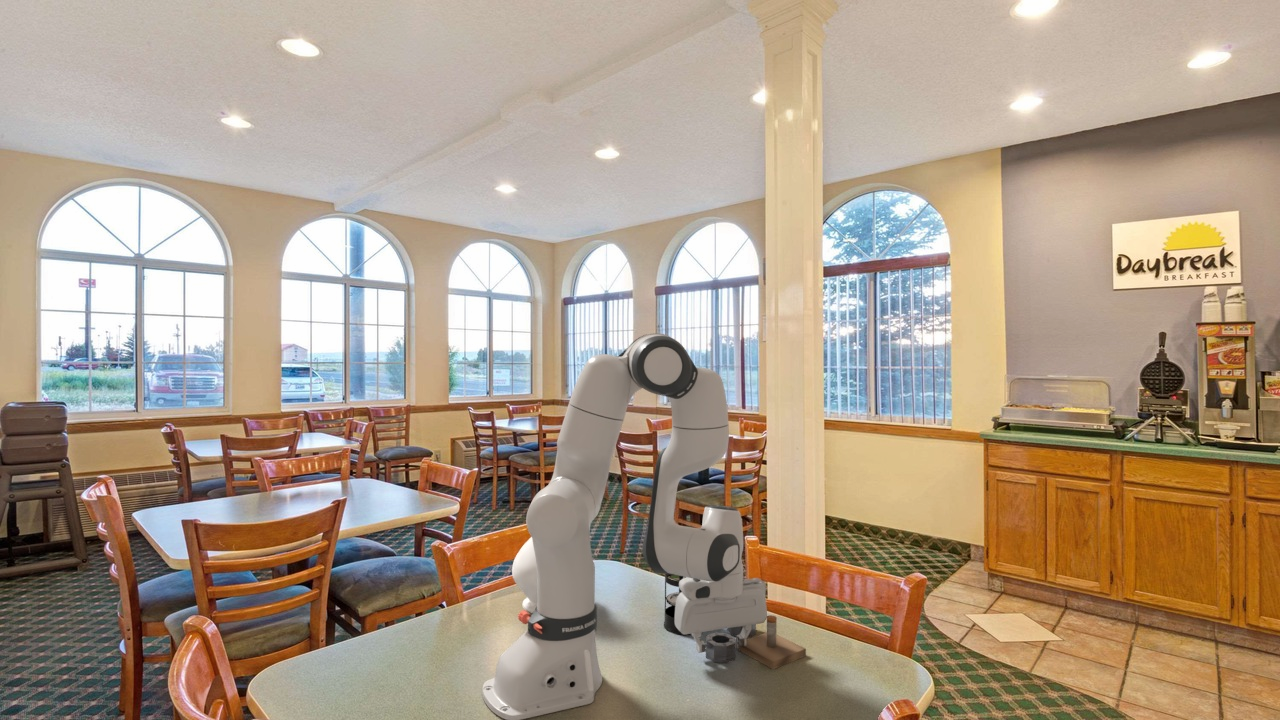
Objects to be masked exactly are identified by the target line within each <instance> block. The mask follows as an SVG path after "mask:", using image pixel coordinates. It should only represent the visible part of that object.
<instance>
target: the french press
mask: <svg viewBox="0 0 1280 720" xmlns="http://www.w3.org/2000/svg"><path fill="white" fill-rule="evenodd" d="M672 576H675V575H674V574H664V621H663V628H664V629H665V630H666V631H668V632H669V633H672V634H675V635H681V636H690V635H691V636H692V634H685V635H684V634H682V633H681V632H680V631H679V630H678V629H677V628H676V626H675V606H676V600H677V597H678V595H679V594H680V593H681V592H682V591H681V590H680V588H679V581H680V580H682V579H683V578H686V577H684V576H679V575H678V580H676V579H672V578H670V577H672ZM667 584H668V585H669V586H673V587H675V588H676V587H678V591H676V592H672V593H670V594H668V595H667ZM667 604H668V605H669V606H668V607H667Z"/></svg>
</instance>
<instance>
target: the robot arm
mask: <svg viewBox="0 0 1280 720" xmlns="http://www.w3.org/2000/svg"><path fill="white" fill-rule="evenodd" d="M642 389H643V390H645V391H647V392H649V393H651V394H654V395H657V396H664V397H667V398H668V401H669V403H670V408H671V435H670V439H669V442H668V444H667V446H666V447H664V448H663V449H661V451H660V452H659V454H658V457H657V460H656V464H655V469H654V474H653V482H652V490H651V499H650V506H649V514H648V515H649V516H648V523H647V527H646V530H645V535H644V538H643V543H642V555H643V559H644V561H645V563H646V564H647V566H648V567H649V569H650V570H651V571H652V572H653V573H655V574H662V575H665V574H674V575H673V576H678V577H679V576H684V577H686V578H683V579H682V580H680V581H679V580H678V581H679V587H678V589H679V588H680V590H681V591H682V592H681V593H680V594H679V595H678V597H677V600H676V606H675V626H676V628H677V629H678V630H679V631H680V632H681V633H682V634H684V635H683V636H686V635H685V634H692V635H691V636H692V638H693V640H694V641H695V649H696V652H697V653H698V654H702V653H706V642H704V641H703V640H701V639H700V638H701V637H702V633H703V632H710V631H718V630H727V628H733V627H740V626H742V627H743V628H742V631H741V633H740V635H737V636H736V639H735V642H736V644H737V646H738V645H739V646H746V644H747V639H748V638H749V637H748V635H749V633H750V631H751V629H752V625H753V624H756V625H759V624H764V623H765V622H766V621H767V616H768V610H767V609H768V608H767V600H766V592H767V591H766V589H767V588H766V583H765V581H764V580H762V579H760V577H753V578H744V566H743V562H742V555H743V552H744V551H743V550H744V531H743V530H744V529H743V520H742V514H741V512H740V510H739V509H737V508H736V507H733V506H728V505H727V506H726V505H718V504H709V505H707V506H704V511H703V514H702V523H701V524H702V525H701V526H700V527H699V528H697V527H692V526H686V525H679V524H678V523H677V522H676V521H675V519H674V517H675V516H674V515H675V510H676V509H675V508H676V502H677V495H678V494H677V493H678V492H677V491H678V485H679V483H680V481H681V480H682V479H683V478H684V477H686V476H689V475H692V474H695V473H698V472H701V471H705V470H706V469H709V468H711V467H713V466H715V465H716V464H717V463H719V462H720V461H721V460H722V459H723V458H724V456H725V455H726V453H727V451H728V447H729V440H730V429H729V427H730V426H729V422H730V421H729V411H728V403H727V396H726V395H727V394H726V390H725V386H724V382H723V378H722V377H721V376H720V374H719V373H718V372H717V371H715V370H713V369H710V368H707V367H700V366H699V367H697V366H696V365H695V363H694V362H693V360H692V358H691V356H690V355H689V353H688V352H687V350H686V349H685V347H684V346H683V345H682V343H680V342H679V341H678V340H676V339H675V338H673V337H671V336H670V335H666V334H664V333H659V332H655V333H647V334H644V335H641V336H640V337H637V338H636V339H635V340H633V341H632V342H631V343H630V345H628V346H627V347H626V348H625V349H624V350H623V351H622V352H621V353H619V355H618V356H617V355H613V354H608V353H607V354H606V353H605V354H604V353H601V354H596V355H593V356H591V357H590V358H589V359H588V360H587V361H586V362H585V364H584V366H583V368H582V370H581V372H580V374H579V376H578V378H577V381H576V383H575V385H574V387H573V389H572V390H573V391H572V393H571V396H570V399H569V401H568V405H567V408H566V412H565V415H564V418H563V420H562V425H561V427H560V431H559V434H558V437H557V440H556V441H557V442H556V447H557V449H556V456H555V463H554V469H553V473H552V477H551V479H550V481H549V482H548V485H546V486H545V487H543V488H541V490H539V491H538V492H537V493H536V494H535V495H534V496H533V498H532V501H531V503H530V504H529V507H528V509H527V512H526V517H525V522H526V523H525V524H526V528H527V531H528V533H529V535H530V536H531V537H532V540H533V546H534V552H535V557H536V564H537V606H536V608H535V610H534V612H533V613H531V614H530V612H528V611H526V610H525V609H522V610H521V611H519V613H518V615H517V619H518V620H519V621H520V623H522V624H523V625H527V629H526V631H524V632H523V634H521V635H520V636H519V637H518V638H517V639H516V640H515V641H514V642H513V643H512V644H511V645H510V646H509V647H508V648H506V650H505V651H504V652H503V653H502V654H501V655H500V656H499V657H498V661H497V663H496V668H495V673H494V677H492V678H491V679H488V680H485V681H484V683H483V686H482V690H481V696H482V699H483V701H484V703H485V704H486V706H487V707H488V709H490V711H492V713H494V714H495V715H496V716H498V717H500V718H501V719H504V720H526V719H529V718H534V717H538V716H543V715H547V714H551V713H556V712H561V711H565V710H568V709H572V708H577V707H582V706H586V705H589V704H592V703H593V702H594V700H595V694H596V692H597V691H598V690H599V689H600V688H601V686H602V683H603V676H602V673H601V669H600V664H599V657H598V653H597V652H598V651H597V643H596V631H597V625H598V624H597V623H598V614H597V613H598V612H597V610H598V609H597V605H596V603H595V601H596V600H595V599H596V598H595V597H596V596H595V594H596V593H595V592H596V591H595V589H596V587H595V586H596V581H595V580H596V566H595V562H594V560H593V555H592V547H591V539H590V537H591V535H590V529H591V525H592V522H593V521H594V520H595V518H596V517H597V516H598V514H599V512H600V509H601V506H602V502H603V499H604V495H605V491H606V487H607V482H608V479H609V475H610V469H611V463H612V459H613V457H614V452H615V450H616V446H617V442H618V440H619V436H620V434H621V433H620V432H621V430H622V428H623V424H624V420H625V417H626V413H627V409H628V406H629V403H630V402H631V401H632V398H633V396H634V395H635V393H637V392H638V391H641V390H642Z"/></svg>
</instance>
